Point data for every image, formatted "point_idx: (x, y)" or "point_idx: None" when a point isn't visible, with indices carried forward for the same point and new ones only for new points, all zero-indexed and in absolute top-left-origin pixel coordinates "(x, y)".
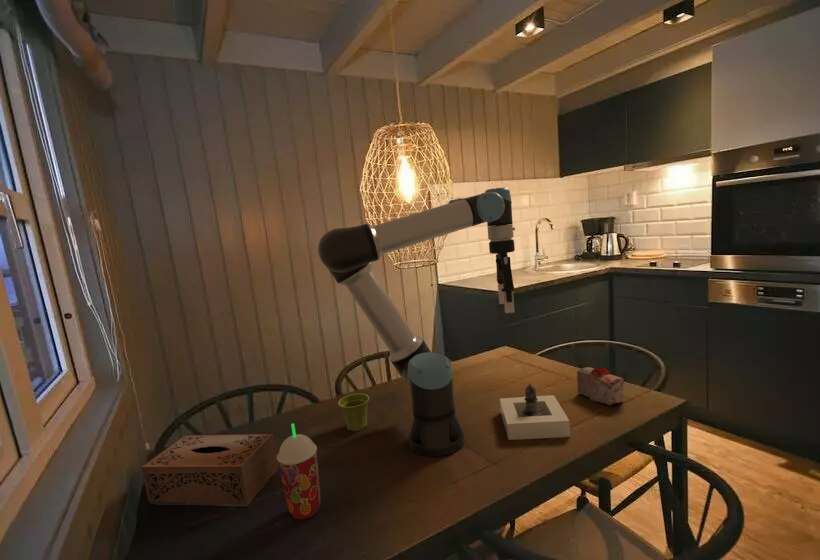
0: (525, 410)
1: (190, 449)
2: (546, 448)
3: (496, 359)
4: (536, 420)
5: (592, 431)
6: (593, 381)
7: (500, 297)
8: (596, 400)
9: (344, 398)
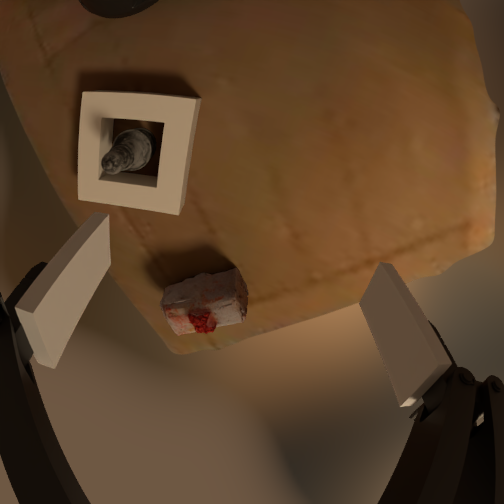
0: (129, 138)
1: None
2: (67, 143)
3: (464, 202)
4: (84, 146)
5: None
6: (194, 298)
7: (393, 297)
8: (194, 277)
9: None
